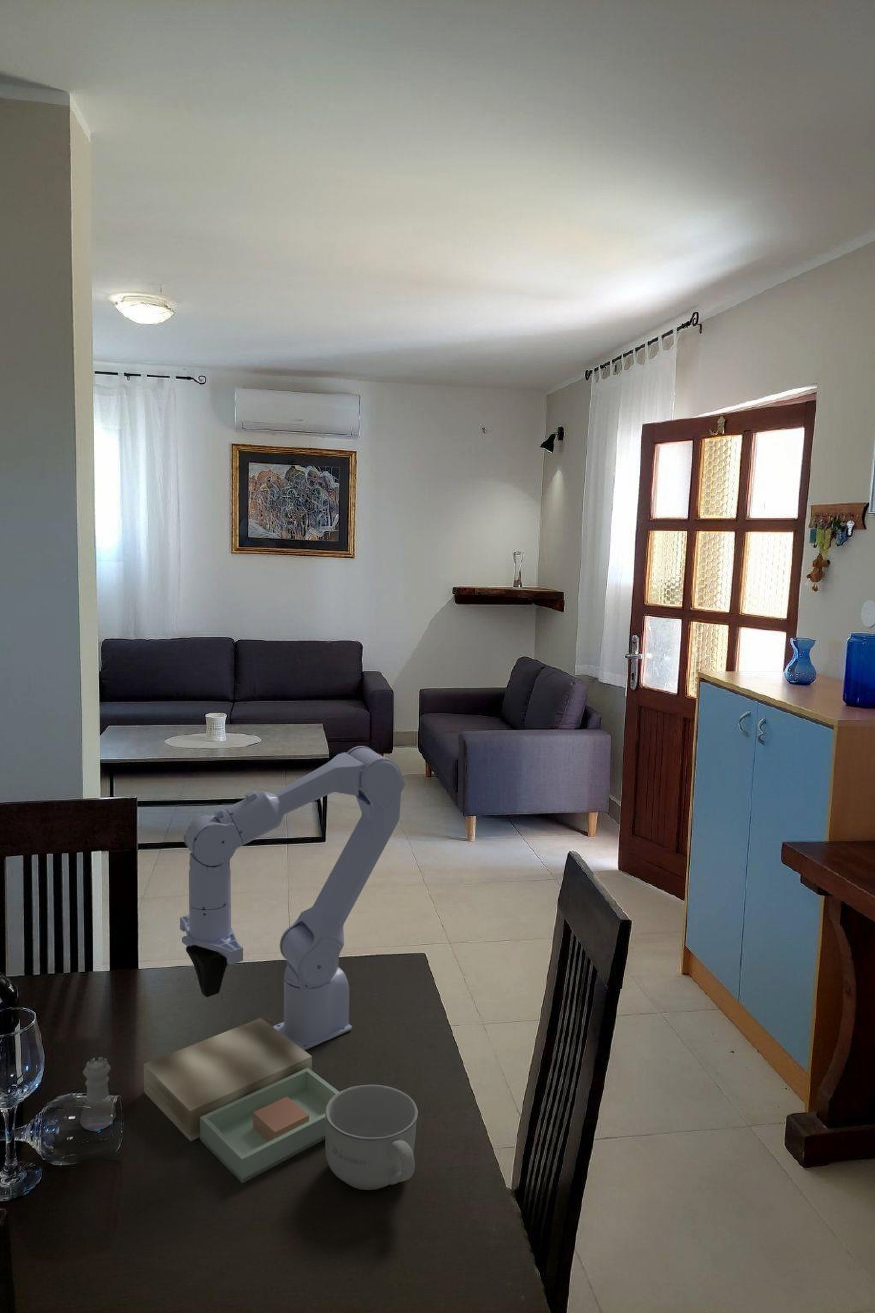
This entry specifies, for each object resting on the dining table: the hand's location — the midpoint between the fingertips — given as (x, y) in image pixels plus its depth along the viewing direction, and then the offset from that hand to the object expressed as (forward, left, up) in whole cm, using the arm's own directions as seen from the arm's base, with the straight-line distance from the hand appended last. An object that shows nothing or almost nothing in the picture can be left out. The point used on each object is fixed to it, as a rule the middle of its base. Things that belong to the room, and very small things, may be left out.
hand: (210, 993), depth 126 cm
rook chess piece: (+18, +4, -10) cm, 21 cm away
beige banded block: (+2, +9, -9) cm, 13 cm away
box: (+2, +21, -9) cm, 23 cm away
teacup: (-2, +35, -10) cm, 36 cm away
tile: (+2, +21, -7) cm, 22 cm away
